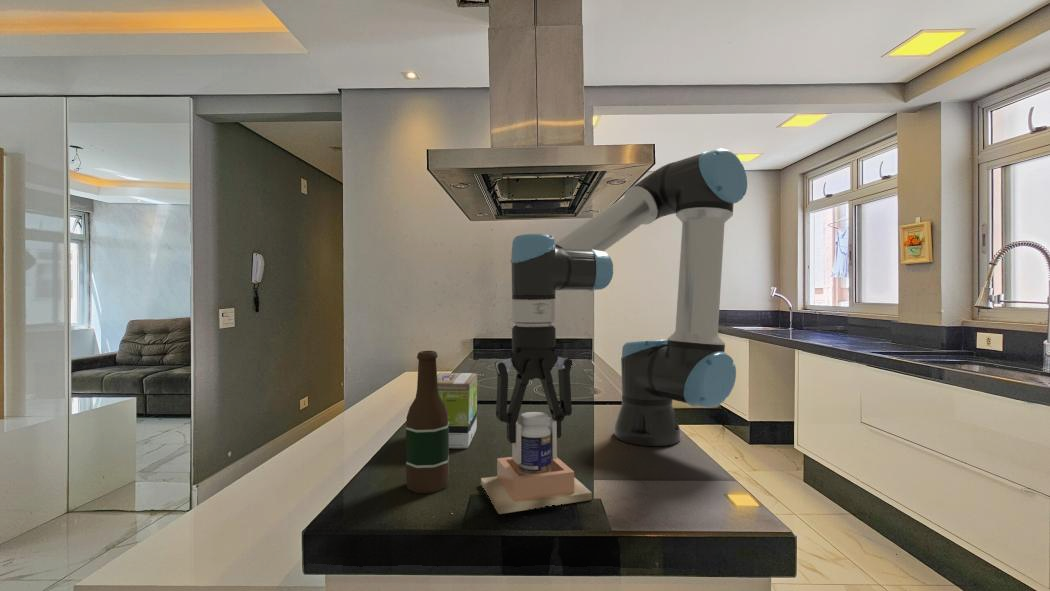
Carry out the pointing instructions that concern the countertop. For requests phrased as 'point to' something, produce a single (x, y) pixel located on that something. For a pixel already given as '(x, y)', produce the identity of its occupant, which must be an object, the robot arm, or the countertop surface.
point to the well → (535, 480)
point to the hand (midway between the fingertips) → (534, 458)
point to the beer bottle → (427, 432)
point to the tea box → (459, 406)
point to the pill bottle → (535, 444)
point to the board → (507, 505)
